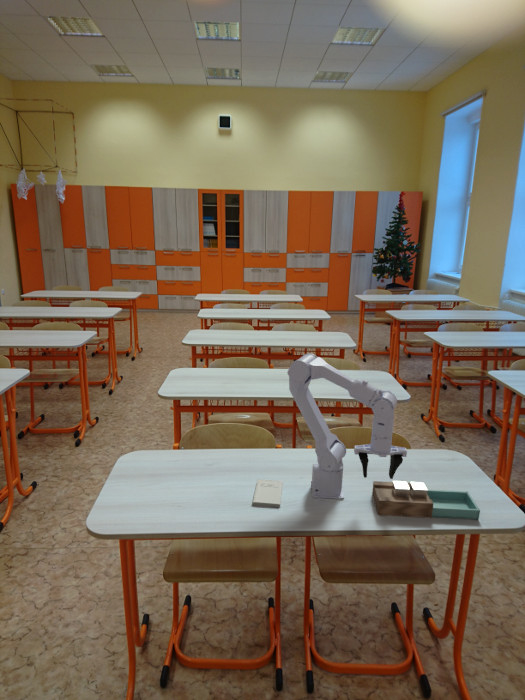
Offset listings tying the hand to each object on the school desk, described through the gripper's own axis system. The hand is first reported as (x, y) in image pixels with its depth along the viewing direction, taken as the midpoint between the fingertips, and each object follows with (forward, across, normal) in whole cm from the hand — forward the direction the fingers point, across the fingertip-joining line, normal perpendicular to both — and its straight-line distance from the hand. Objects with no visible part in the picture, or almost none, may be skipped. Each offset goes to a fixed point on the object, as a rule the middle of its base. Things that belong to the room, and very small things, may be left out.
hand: (377, 476), depth 129 cm
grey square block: (+5, +7, 0) cm, 9 cm away
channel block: (+9, +8, 0) cm, 12 cm away
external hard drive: (+10, -32, +2) cm, 34 cm away
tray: (+9, +22, 0) cm, 24 cm away
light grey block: (+5, +12, 0) cm, 13 cm away
